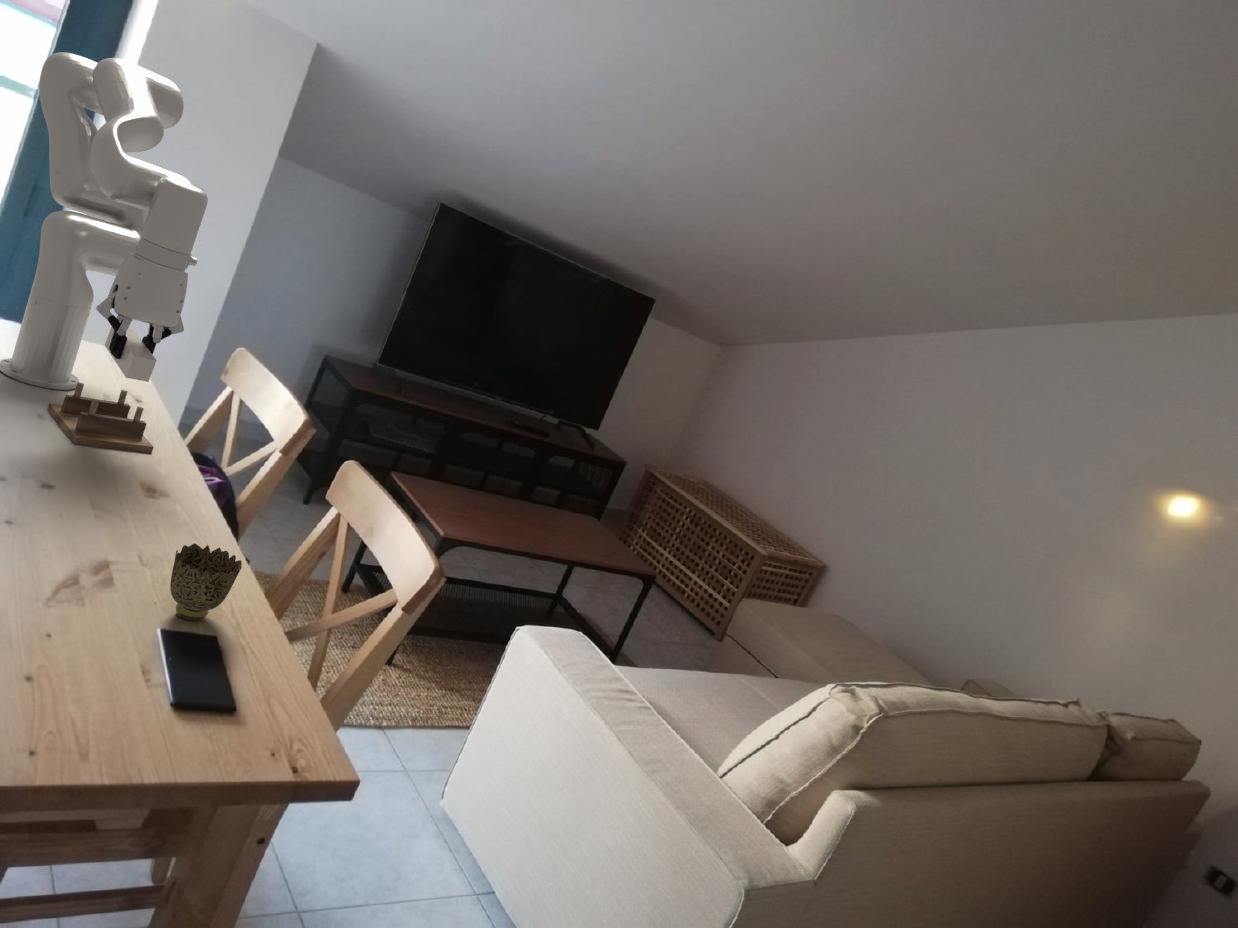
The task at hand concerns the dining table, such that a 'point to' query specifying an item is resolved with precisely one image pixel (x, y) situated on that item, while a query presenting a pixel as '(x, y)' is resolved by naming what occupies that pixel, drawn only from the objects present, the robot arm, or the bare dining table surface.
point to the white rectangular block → (134, 357)
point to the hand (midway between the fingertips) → (128, 357)
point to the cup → (201, 580)
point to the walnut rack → (101, 422)
